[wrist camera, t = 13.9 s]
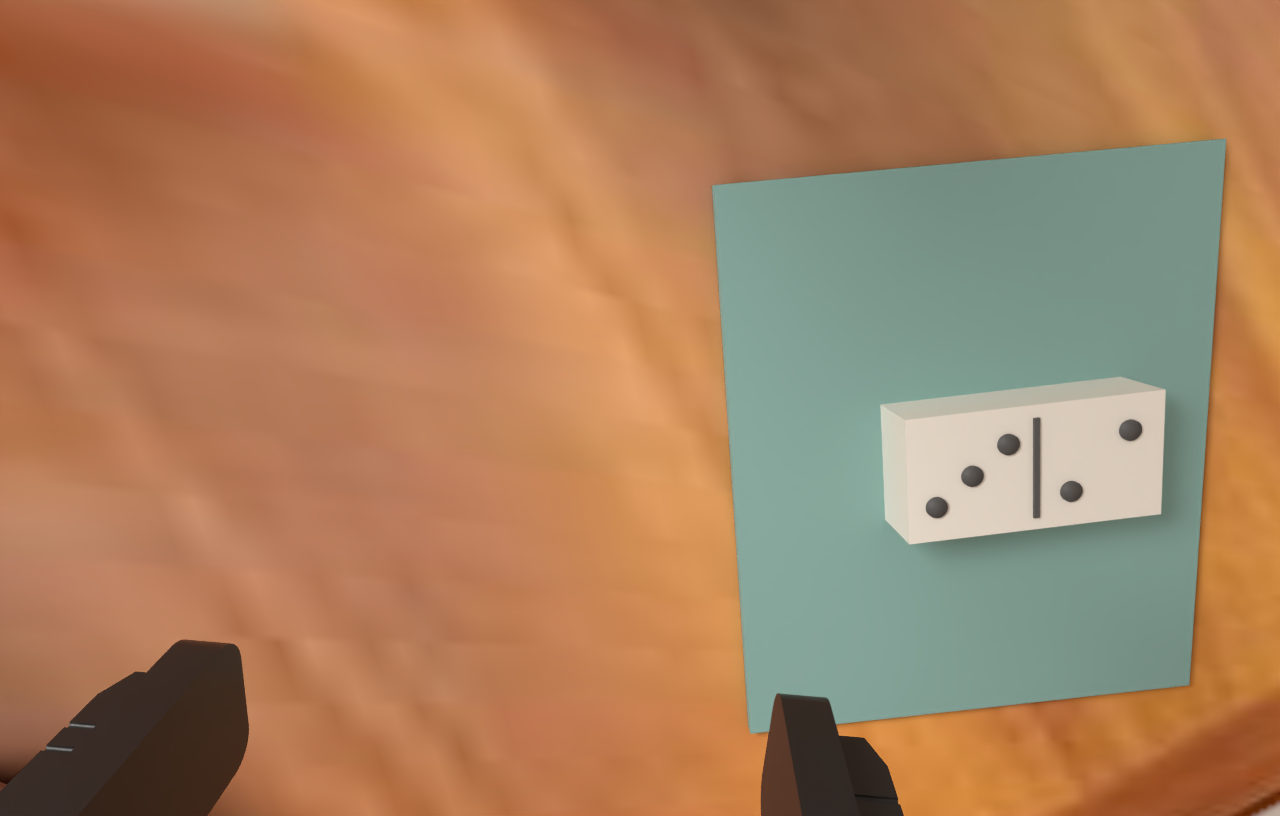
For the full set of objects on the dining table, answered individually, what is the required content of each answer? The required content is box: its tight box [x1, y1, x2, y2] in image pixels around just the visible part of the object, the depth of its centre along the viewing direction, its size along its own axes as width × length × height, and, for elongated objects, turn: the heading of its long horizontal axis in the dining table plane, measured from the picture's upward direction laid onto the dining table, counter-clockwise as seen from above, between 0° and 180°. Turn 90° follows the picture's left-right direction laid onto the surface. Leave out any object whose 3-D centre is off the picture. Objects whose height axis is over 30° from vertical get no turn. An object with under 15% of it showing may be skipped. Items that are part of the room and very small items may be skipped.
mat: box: [712, 139, 1226, 734], centre depth 37 cm, size 26×22×1 cm
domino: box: [880, 377, 1166, 544], centre depth 36 cm, size 6×3×11 cm
